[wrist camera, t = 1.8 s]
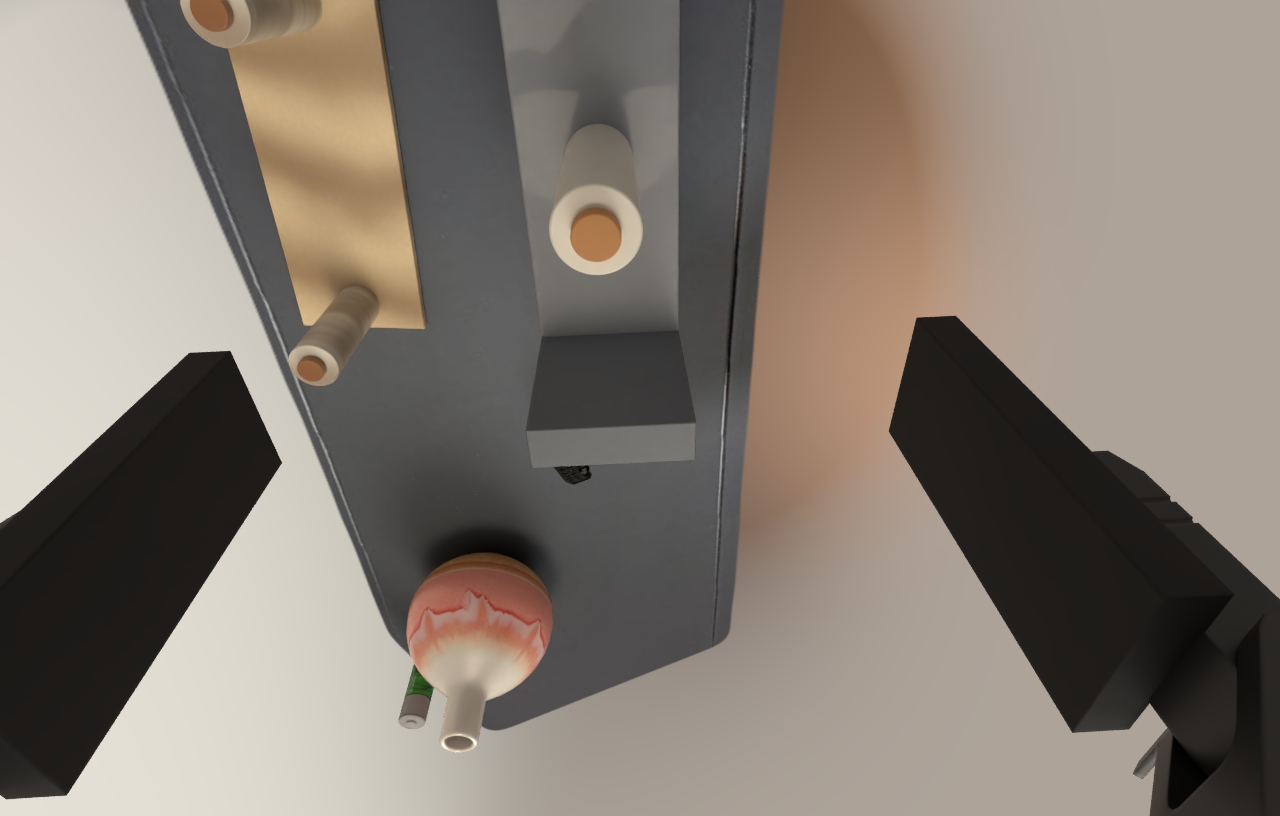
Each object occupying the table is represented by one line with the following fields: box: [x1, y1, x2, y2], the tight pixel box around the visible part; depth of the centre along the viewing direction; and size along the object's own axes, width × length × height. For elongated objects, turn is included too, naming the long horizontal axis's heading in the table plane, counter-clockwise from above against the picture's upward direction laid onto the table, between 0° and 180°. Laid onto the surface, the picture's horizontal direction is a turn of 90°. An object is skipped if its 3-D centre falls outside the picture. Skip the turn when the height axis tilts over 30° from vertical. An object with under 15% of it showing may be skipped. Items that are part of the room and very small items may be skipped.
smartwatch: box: [554, 465, 592, 484], centre depth 54 cm, size 4×5×5 cm
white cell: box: [549, 124, 643, 275], centre depth 24 cm, size 3×3×10 cm
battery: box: [399, 664, 434, 729], centre depth 68 cm, size 3×3×10 cm
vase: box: [407, 552, 553, 752], centre depth 59 cm, size 14×14×18 cm
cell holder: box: [180, 0, 427, 386], centre depth 38 cm, size 23×9×10 cm, turn 177°
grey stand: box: [497, 0, 696, 468], centre depth 31 cm, size 21×7×24 cm, turn 2°
